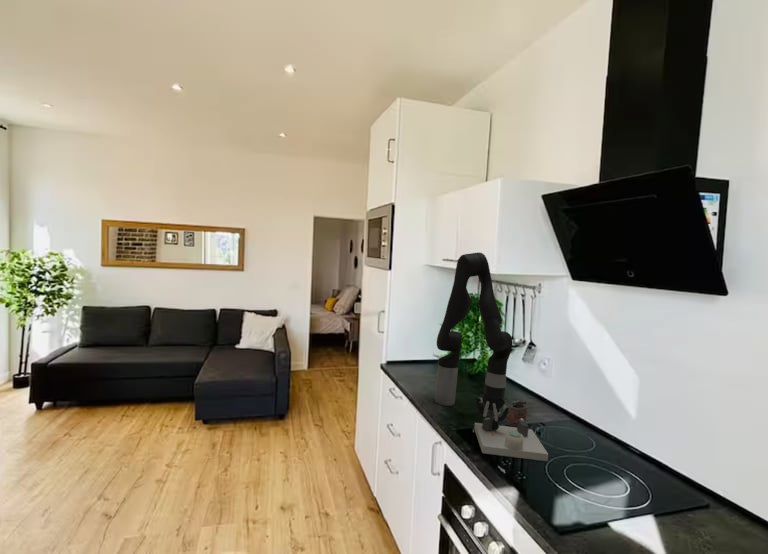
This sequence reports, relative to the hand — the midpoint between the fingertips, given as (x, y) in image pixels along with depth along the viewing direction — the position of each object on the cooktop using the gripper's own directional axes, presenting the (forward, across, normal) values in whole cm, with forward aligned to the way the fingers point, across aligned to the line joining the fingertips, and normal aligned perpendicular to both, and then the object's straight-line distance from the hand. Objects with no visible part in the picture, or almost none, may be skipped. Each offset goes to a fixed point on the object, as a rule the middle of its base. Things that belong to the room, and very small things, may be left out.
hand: (490, 427), depth 153 cm
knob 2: (0, +10, +7) cm, 12 cm away
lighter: (+3, +3, +20) cm, 21 cm away
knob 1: (0, 0, 0) cm, 0 cm away
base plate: (+3, +8, -1) cm, 8 cm away
